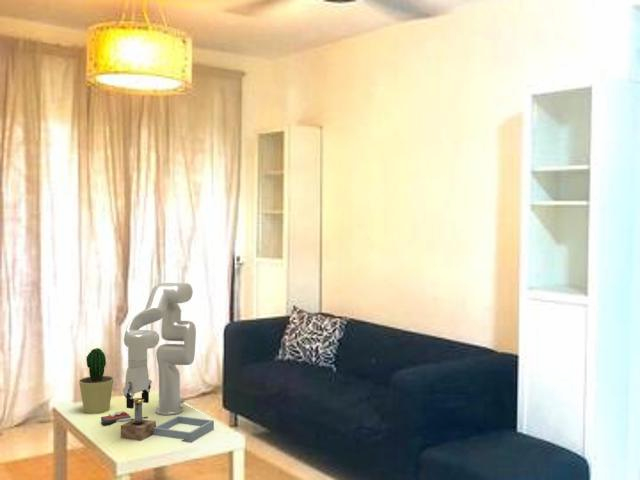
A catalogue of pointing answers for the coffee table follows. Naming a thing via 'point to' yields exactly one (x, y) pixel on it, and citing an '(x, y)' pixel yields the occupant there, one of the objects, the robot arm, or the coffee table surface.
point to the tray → (187, 436)
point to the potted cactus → (96, 384)
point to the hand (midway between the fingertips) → (137, 405)
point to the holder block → (137, 430)
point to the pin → (138, 410)
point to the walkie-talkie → (116, 418)
